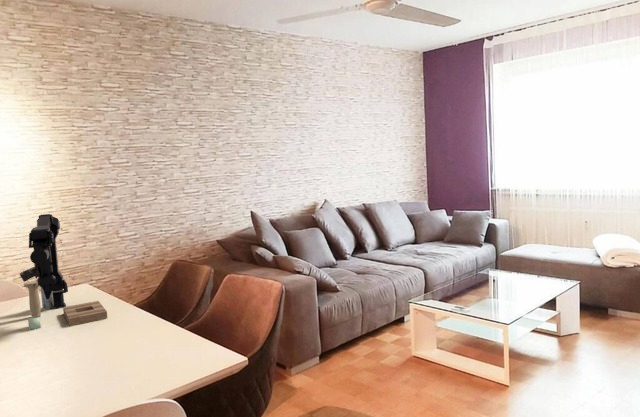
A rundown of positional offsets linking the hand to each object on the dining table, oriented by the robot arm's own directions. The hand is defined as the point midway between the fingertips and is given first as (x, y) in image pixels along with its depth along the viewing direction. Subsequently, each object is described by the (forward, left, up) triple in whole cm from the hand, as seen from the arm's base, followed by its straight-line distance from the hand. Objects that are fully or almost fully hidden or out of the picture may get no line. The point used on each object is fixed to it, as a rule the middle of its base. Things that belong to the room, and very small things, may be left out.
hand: (47, 297), depth 195 cm
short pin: (+3, -5, -11) cm, 12 cm away
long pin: (0, 0, -4) cm, 4 cm away
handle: (-14, -4, -11) cm, 18 cm away
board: (0, +13, -11) cm, 17 cm away
